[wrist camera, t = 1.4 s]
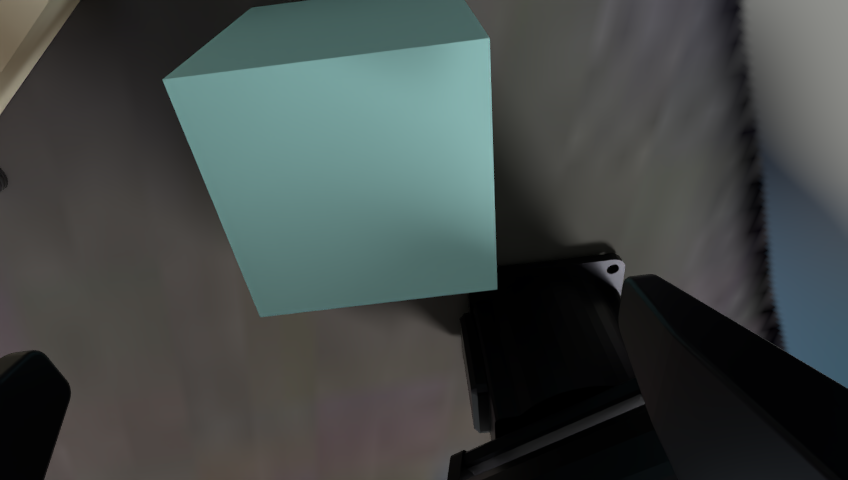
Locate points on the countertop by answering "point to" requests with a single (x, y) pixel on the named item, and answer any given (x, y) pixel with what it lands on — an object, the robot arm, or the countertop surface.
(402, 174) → the turquoise block
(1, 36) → the socket base
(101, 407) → the countertop surface
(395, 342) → the countertop surface
